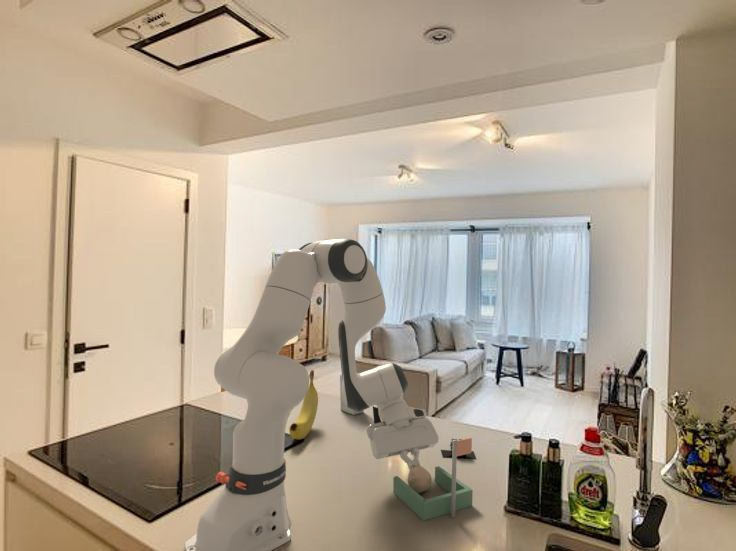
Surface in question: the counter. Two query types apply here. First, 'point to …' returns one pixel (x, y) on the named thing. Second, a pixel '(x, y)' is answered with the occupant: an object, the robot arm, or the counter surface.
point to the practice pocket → (457, 490)
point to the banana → (306, 413)
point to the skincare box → (343, 405)
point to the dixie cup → (376, 415)
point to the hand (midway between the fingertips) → (414, 467)
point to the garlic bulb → (419, 478)
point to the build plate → (449, 455)
